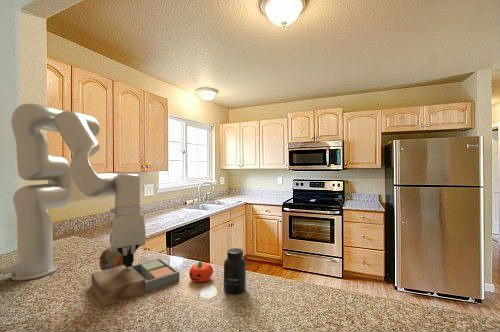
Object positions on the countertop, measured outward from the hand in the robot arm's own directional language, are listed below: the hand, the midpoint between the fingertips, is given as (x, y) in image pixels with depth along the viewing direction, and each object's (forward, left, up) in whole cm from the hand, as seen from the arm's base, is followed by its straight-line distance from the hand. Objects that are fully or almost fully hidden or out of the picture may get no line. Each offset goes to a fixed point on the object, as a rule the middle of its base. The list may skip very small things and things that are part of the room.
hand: (128, 265), depth 81 cm
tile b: (+8, 0, -2) cm, 8 cm away
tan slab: (-4, -4, -5) cm, 7 cm away
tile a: (+8, -8, -2) cm, 12 cm away
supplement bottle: (+22, -29, -5) cm, 37 cm away
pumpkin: (+18, -16, -5) cm, 25 cm away
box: (+7, -4, -5) cm, 9 cm away
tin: (0, +15, -5) cm, 16 cm away
